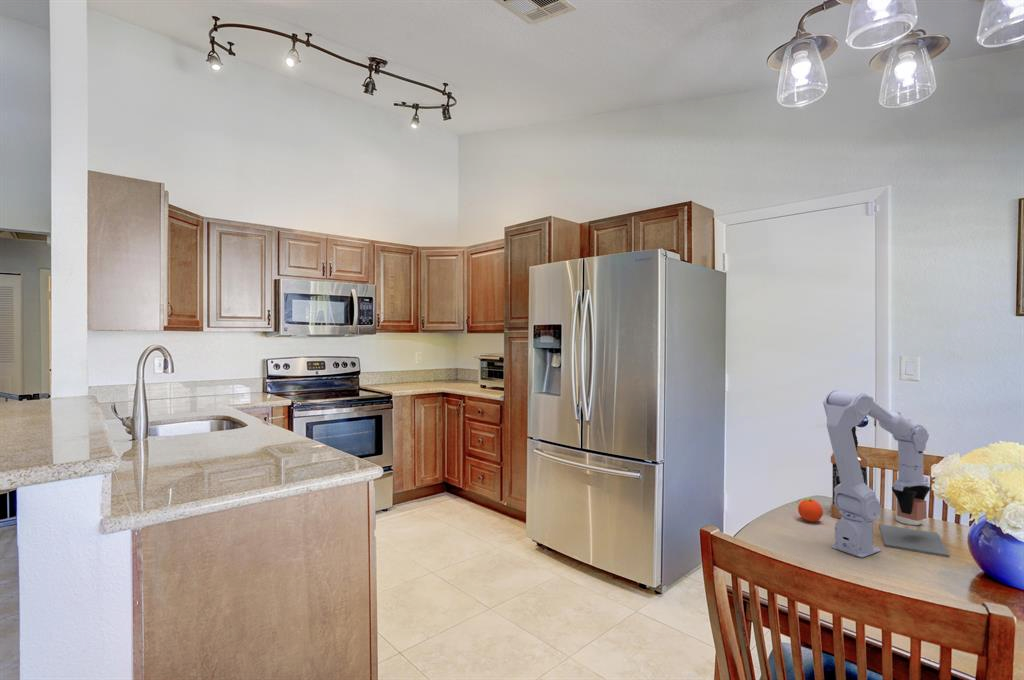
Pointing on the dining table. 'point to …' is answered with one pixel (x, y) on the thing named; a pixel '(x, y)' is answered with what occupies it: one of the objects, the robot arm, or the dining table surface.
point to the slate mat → (913, 540)
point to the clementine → (810, 510)
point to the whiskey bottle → (836, 479)
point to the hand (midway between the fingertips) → (911, 511)
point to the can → (906, 519)
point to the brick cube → (914, 510)
